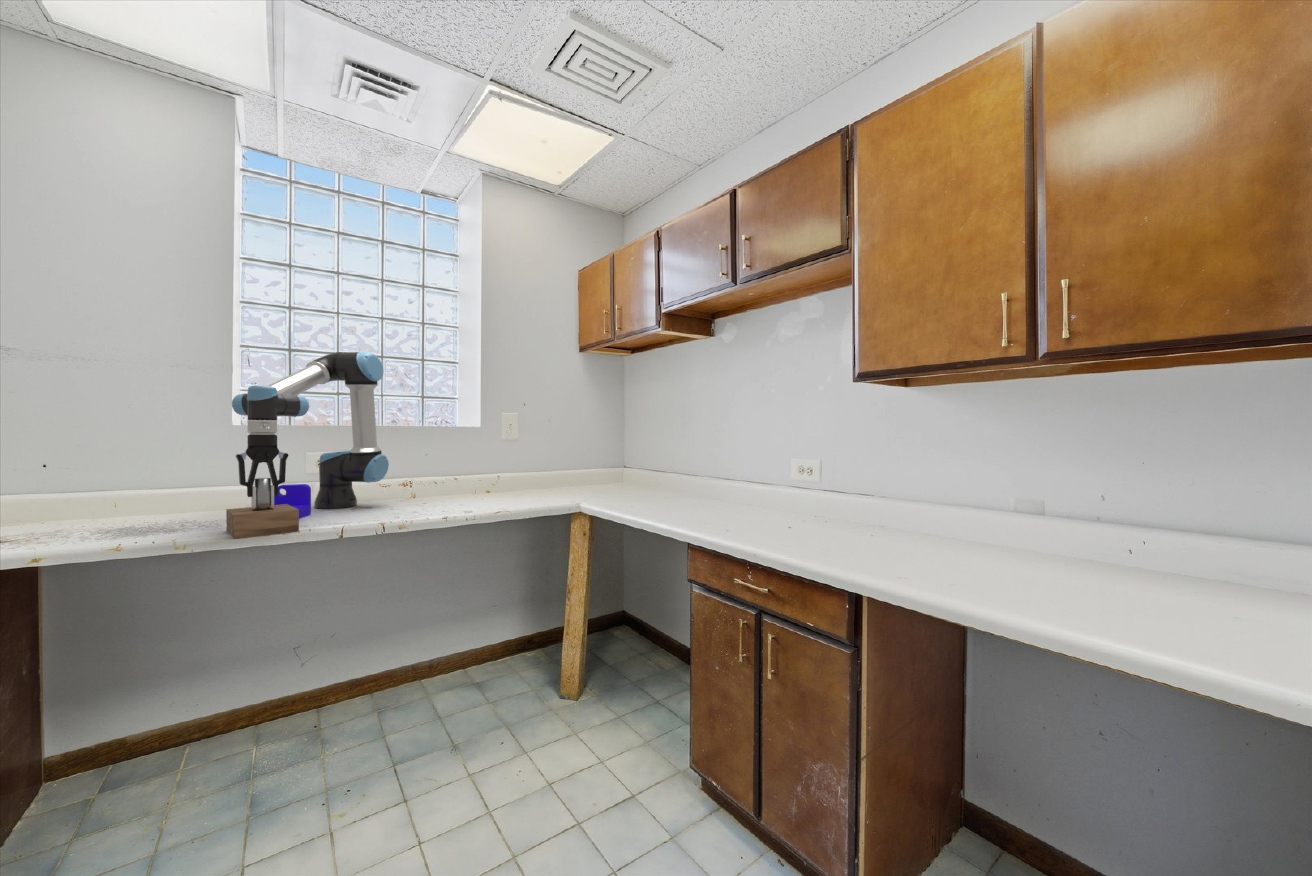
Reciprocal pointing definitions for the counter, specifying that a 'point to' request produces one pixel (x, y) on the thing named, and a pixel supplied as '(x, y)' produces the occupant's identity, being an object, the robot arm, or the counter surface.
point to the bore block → (262, 521)
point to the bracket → (295, 498)
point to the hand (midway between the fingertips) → (262, 506)
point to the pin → (263, 494)
